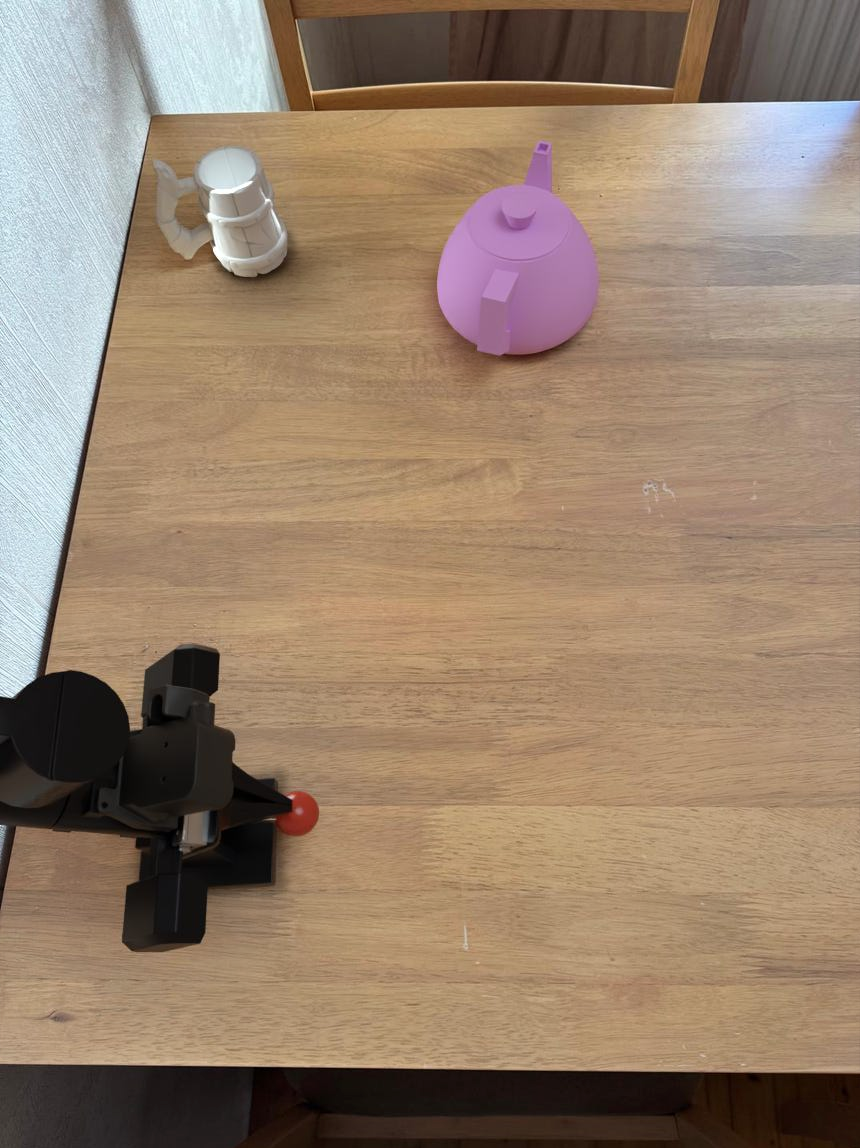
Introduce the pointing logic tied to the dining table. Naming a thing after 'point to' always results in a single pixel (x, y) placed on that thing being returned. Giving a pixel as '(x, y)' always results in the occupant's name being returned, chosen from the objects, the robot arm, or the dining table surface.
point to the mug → (225, 211)
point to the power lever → (297, 815)
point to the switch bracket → (231, 856)
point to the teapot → (519, 268)
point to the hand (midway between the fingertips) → (289, 807)
